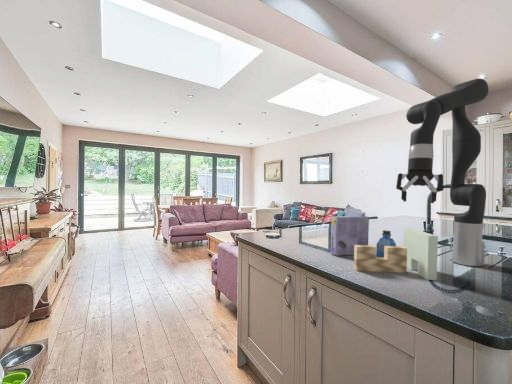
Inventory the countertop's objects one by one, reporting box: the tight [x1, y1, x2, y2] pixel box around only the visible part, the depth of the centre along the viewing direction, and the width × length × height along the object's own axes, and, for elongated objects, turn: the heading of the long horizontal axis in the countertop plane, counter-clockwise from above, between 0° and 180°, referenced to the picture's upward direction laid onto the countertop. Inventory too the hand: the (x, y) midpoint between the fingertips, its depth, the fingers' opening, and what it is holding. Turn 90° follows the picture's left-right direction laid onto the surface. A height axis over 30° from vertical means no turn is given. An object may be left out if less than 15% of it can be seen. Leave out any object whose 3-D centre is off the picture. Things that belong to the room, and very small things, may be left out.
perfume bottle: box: [376, 230, 397, 258], centre depth 112 cm, size 6×6×12 cm
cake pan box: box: [330, 215, 370, 257], centre depth 118 cm, size 19×5×18 cm, turn 108°
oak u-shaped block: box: [353, 244, 408, 274], centre depth 95 cm, size 18×3×9 cm, turn 86°
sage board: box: [403, 227, 439, 281], centre depth 93 cm, size 3×16×15 cm, turn 176°
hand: (417, 202), depth 92 cm, fingers open, 8 cm apart
